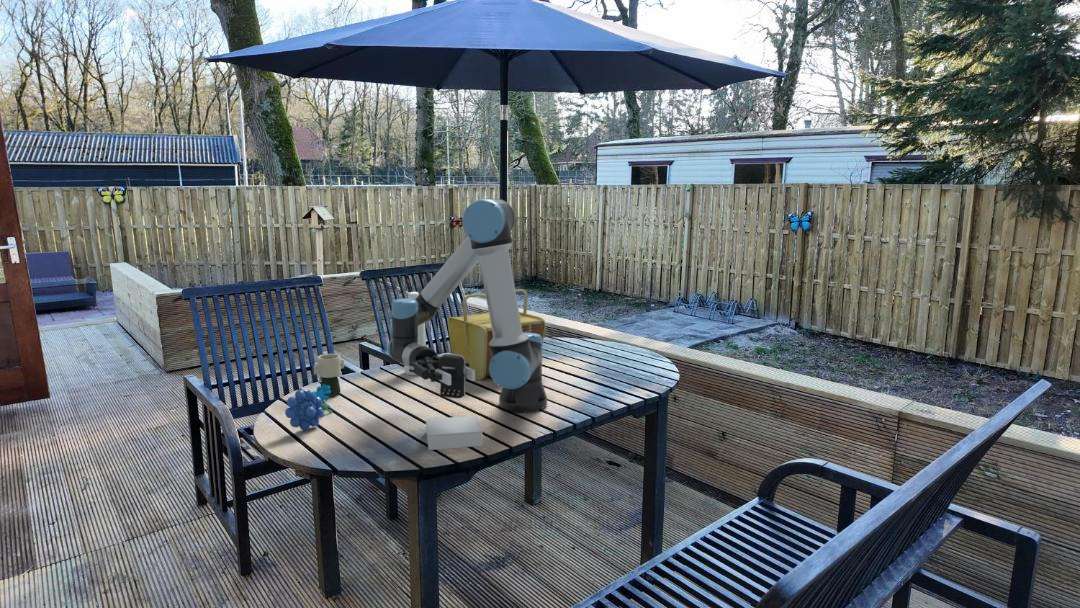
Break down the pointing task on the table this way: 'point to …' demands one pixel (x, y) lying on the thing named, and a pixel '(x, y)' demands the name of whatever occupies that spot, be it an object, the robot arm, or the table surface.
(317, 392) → the blue green lumpy piece
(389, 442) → the table surface
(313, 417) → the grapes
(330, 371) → the character mug
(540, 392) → the robot arm
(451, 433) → the stand
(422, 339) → the bottle
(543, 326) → the picnic basket
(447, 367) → the battery charger
